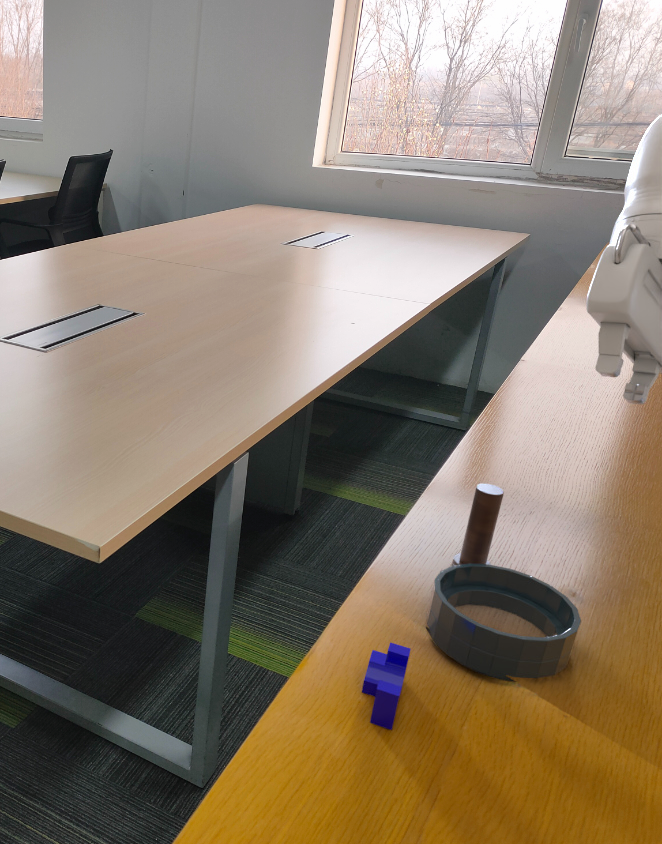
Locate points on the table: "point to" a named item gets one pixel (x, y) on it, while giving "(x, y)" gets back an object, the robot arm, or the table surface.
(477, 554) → the pestle
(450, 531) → the table surface
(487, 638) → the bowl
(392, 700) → the blue stepped block
